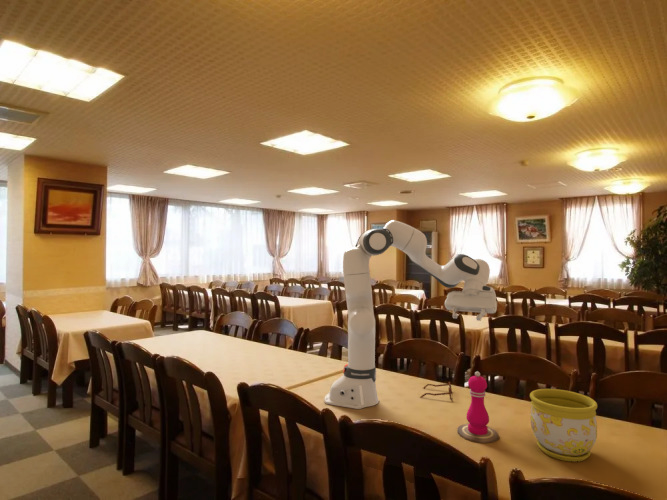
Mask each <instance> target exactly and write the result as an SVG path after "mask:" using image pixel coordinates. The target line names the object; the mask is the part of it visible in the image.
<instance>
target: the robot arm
mask: <svg viewBox="0 0 667 500" xmlns="http://www.w3.org/2000/svg"><path fill="white" fill-rule="evenodd" d="M427 246H428V239H427V237H426V235H425V234H424V233H423V232H422V231H420V230H419V229H418V228H415V227H414V226H411V225H409V224H407V223H405V222H402V221H398V220H395V219H391V220H389V221H388V222H386V223H385V225H384V226H383V228H371V229H367V230H366V231H364V232H362V233H361V234H360V236H359V237H358V239H357V241H356V244H355V245H354V246H353V247H349V248H347V249H345V251H344V252H343V258H342V259H343V260H342V269H343V270H342V272H343V273H342V274H343V282H344V293H345V300H346V307H347V316H348V318H347V351H348V352H347V353H348V355H347V356H348V358H347V363H345V365H344V366H343V369H342V370H343V371H342V373H343V375H341V376H340V377H339V378H337V379H336V380H335V381H334V382H333V383H332V385H331V386H330V389H329V392H328V393H327V394H326V395H325V396H324V400H323V401H325V402H324V404H327V405H332V406H337V407H344V408H350V409H356V410H360V409H364V408H367V407H373V406H375V405H377V404H379V402H380V400H379V397H378V391H377V386H376V385H377V384H376V381H377V367H376V363H375V361H376V358H375V357H376V356H375V355H376V351H375V350H376V317H375V313H374V311H375V310H374V303H373V291H372V289H373V288H372V280H371V273H370V272H371V271H370V259H371V258H372V256H373V257H375V256H379V255H381V254H384V253H385V252H386V251H387V250H388V249H389V248H390V247H394V248H396V249H398V250H400V251H401V252H403V253H404V254H406V255H407V256H408V258H409V260H410V261H411V262H412V263H413V264H414V265H416V266H417V267H419V268H420V269H421V270H422V271H424V272H426V273H427V274H429V276H431V277H433V278H434V279H435V280H437V282H438V283H439V284H441V286H443V287H445V288H448V289H454V288H455V287H457V286H458V284H459V285H460V283H461V282H462V281H464V284H463V287H462V290H461V291H460V290H457V291H456V290H452V291H450V292H448V293H447V297H446V299H445V301H444V307H445V309H446V310H447V311H452V315H451V316H452V318H453V319H458V316H459V315H458V313H457V312H469V313H479V314H477V315H476V317H475V319H476V321H482V318H484V317H485V316H486V314H493V315H494V314H495V313H496V312H497V307H498V302H497V295H496V291H495V289H494V288H493V286H489V285H487V284H488V282H489V279H490V275H491V272H490V271H491V269H490V265H489V264H488V262H487V261H486V260H483V259H482V258H481V259H480V258H477V259H474V258H472V257H470V256H469V255H466V254H464V253H459V254H456V255H455V256H454V257H453V258H452V259H450V260H449V261H448V262H447V263H446V264H444V265H440V264H439V263H437V262H436V261H435V260H433V259H431V258H430V257H429V256H427V253H426V251H427Z"/></svg>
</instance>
